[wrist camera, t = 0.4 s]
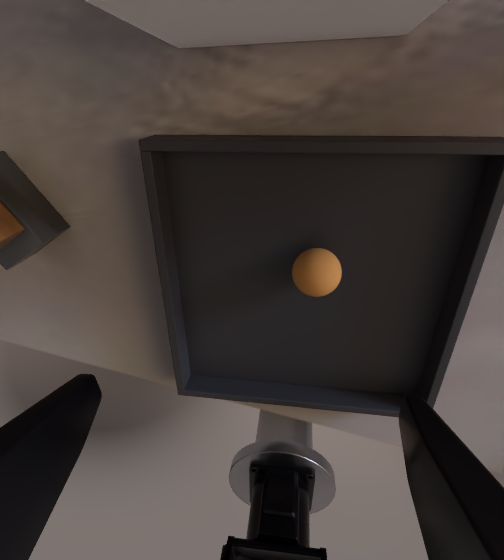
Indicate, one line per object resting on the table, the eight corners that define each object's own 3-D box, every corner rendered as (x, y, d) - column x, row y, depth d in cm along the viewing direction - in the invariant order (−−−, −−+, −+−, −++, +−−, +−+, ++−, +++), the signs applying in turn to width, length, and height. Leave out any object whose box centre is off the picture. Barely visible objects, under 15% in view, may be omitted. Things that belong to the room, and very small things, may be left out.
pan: (420, 396, 27) (429, 420, 25) (186, 374, 30) (178, 395, 28) (501, 136, 18) (525, 142, 16) (154, 134, 21) (138, 139, 19)
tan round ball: (336, 283, 23) (340, 307, 21) (291, 280, 24) (290, 304, 21) (342, 241, 22) (347, 262, 19) (293, 239, 22) (292, 259, 19)
